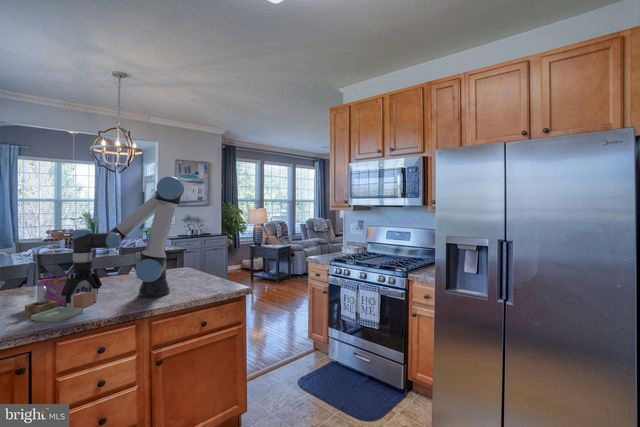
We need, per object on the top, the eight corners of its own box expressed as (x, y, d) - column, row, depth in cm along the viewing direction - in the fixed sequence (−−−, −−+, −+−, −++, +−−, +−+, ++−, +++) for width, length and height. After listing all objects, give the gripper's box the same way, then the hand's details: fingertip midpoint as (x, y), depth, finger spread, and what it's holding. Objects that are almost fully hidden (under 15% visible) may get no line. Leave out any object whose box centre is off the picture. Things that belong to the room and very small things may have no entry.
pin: (41, 314, 145) (40, 287, 145) (35, 314, 145) (34, 287, 145) (48, 312, 148) (48, 286, 148) (42, 312, 149) (42, 285, 148)
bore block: (57, 311, 150) (57, 301, 150) (40, 316, 142) (39, 306, 142) (43, 310, 151) (43, 300, 151) (24, 315, 144) (24, 305, 143)
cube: (93, 304, 161) (93, 292, 160) (82, 308, 155) (82, 295, 154) (83, 303, 162) (83, 291, 161) (71, 307, 156) (71, 295, 156)
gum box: (39, 310, 152) (38, 280, 151) (34, 306, 156) (33, 278, 156) (98, 298, 171) (97, 272, 170) (92, 296, 176) (92, 270, 175)
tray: (83, 312, 148) (83, 308, 148) (56, 322, 136) (56, 317, 135) (59, 311, 150) (59, 306, 150) (31, 320, 138) (30, 315, 138)
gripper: (97, 257, 170) (97, 298, 171) (50, 265, 146) (51, 313, 147) (109, 257, 169) (110, 298, 170) (65, 266, 145) (65, 314, 145)
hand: (82, 305), depth 158 cm, fingers open, 12 cm apart
